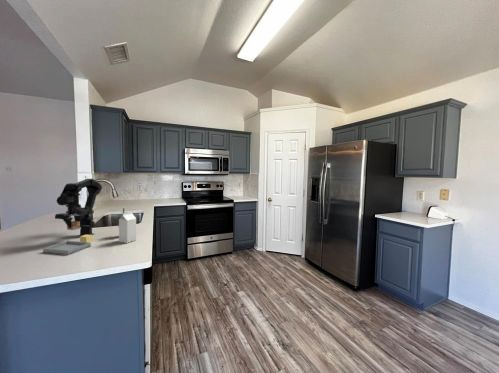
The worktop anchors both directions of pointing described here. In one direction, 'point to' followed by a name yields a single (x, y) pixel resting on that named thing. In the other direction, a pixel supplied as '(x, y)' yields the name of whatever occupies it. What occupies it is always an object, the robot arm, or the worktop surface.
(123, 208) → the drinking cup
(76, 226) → the walnut block
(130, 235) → the milk carton
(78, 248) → the tray
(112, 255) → the worktop surface
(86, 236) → the mustard block
